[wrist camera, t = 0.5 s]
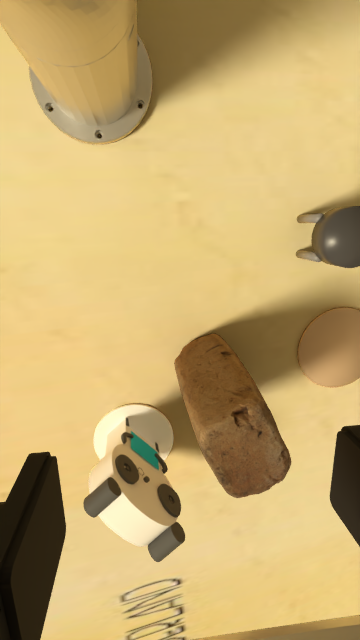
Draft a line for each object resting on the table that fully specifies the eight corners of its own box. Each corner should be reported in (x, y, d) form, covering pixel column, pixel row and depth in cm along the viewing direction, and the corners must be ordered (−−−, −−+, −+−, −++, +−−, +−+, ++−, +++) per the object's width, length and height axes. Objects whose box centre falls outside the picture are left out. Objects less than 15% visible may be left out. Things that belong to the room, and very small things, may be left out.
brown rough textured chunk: (167, 347, 46) (186, 435, 26) (217, 323, 46) (273, 395, 26) (198, 410, 49) (236, 530, 30) (246, 388, 49) (314, 494, 30)
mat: (299, 311, 46) (300, 312, 46) (381, 303, 47) (383, 304, 47) (296, 390, 50) (297, 391, 49) (373, 381, 51) (375, 382, 50)
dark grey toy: (293, 211, 43) (327, 208, 35) (341, 207, 43) (385, 204, 36) (292, 262, 44) (323, 270, 37) (338, 258, 45) (379, 265, 37)
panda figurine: (192, 439, 50) (213, 526, 36) (137, 487, 51) (136, 590, 37) (134, 388, 47) (131, 460, 32) (76, 441, 48) (50, 533, 34)
